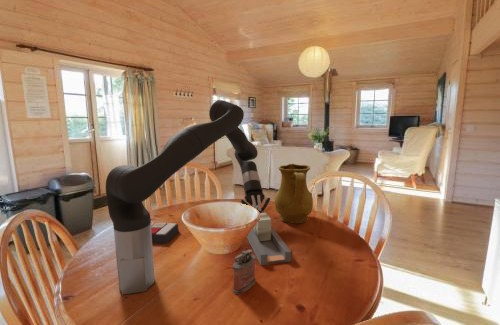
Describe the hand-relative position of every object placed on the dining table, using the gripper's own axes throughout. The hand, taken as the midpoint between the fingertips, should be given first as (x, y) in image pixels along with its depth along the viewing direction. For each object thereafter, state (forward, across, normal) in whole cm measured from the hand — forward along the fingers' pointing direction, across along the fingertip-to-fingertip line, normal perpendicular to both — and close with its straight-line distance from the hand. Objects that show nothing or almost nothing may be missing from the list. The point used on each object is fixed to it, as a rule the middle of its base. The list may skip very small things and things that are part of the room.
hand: (259, 221), depth 106 cm
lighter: (+26, +12, +18) cm, 34 cm away
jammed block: (+7, +1, +1) cm, 7 cm away
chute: (+10, 0, +2) cm, 10 cm away
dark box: (-1, +40, -9) cm, 41 cm away
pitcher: (-4, -19, -12) cm, 22 cm away
